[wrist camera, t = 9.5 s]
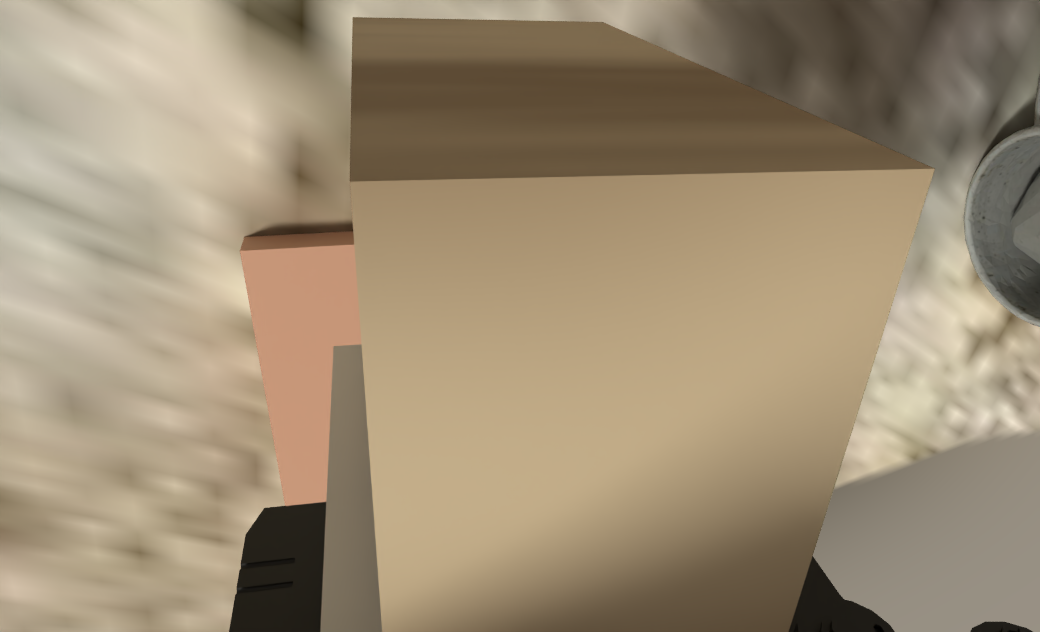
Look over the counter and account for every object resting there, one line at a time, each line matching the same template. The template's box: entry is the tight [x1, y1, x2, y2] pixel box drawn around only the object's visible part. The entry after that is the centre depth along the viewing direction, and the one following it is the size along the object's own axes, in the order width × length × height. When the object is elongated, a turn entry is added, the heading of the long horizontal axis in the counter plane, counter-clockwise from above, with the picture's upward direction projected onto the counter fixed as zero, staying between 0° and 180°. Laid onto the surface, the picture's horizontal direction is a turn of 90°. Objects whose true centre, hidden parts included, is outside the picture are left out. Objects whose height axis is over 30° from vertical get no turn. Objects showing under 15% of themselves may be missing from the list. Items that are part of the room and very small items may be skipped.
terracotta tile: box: [240, 231, 361, 506], centre depth 29 cm, size 2×10×12 cm
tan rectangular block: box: [350, 17, 935, 632], centre depth 11 cm, size 13×10×8 cm
